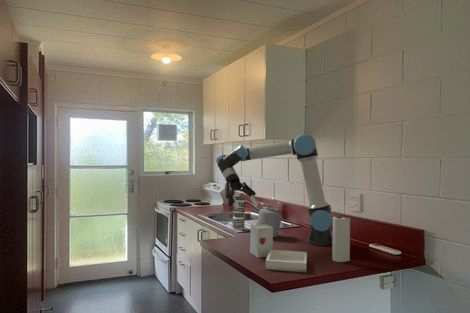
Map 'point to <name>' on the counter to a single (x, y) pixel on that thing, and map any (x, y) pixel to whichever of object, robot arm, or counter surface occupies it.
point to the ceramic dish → (286, 260)
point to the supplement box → (261, 240)
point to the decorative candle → (238, 212)
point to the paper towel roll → (341, 239)
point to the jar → (270, 219)
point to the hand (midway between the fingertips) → (247, 206)
